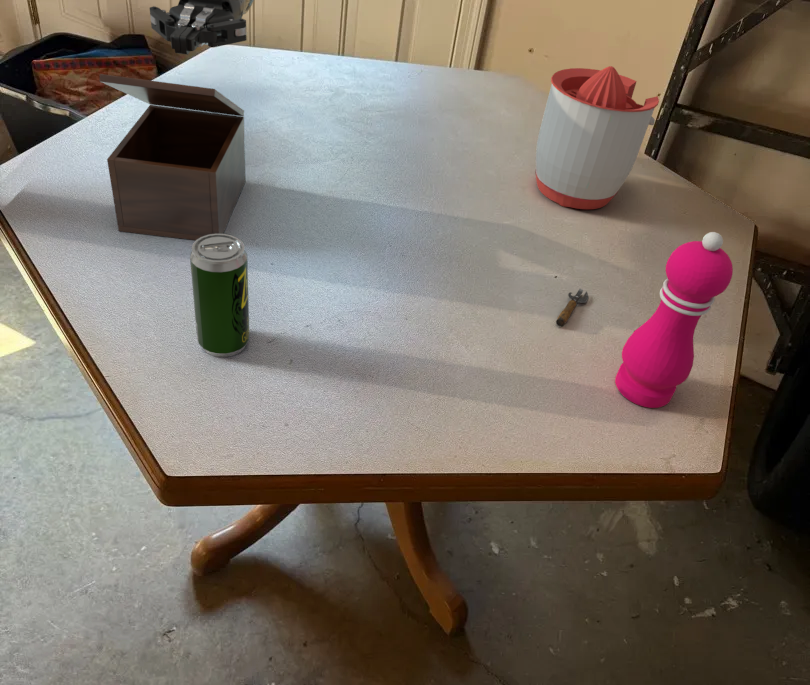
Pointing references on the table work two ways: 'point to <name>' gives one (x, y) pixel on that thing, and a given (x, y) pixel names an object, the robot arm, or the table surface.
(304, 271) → the table surface
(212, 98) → the lid
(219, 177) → the chest
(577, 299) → the can opener
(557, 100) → the citrus juicer
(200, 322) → the beer can
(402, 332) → the table surface
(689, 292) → the pepper mill
